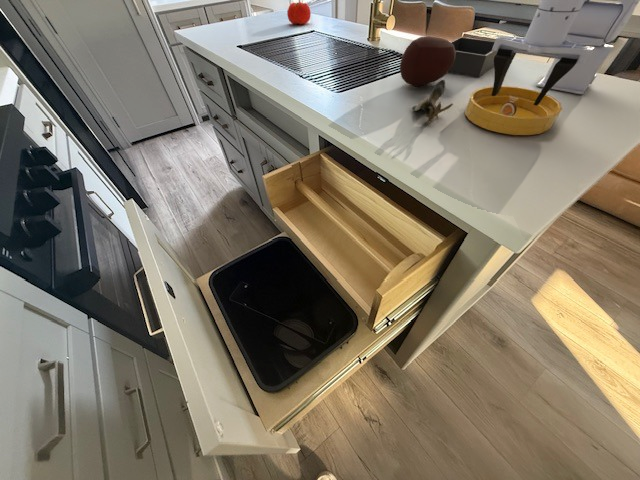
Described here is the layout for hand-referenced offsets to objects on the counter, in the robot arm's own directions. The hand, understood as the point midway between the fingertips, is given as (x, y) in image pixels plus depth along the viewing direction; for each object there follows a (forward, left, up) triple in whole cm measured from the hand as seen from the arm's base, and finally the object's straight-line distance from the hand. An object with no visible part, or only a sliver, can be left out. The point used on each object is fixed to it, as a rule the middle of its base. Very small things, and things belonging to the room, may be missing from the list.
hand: (514, 99), depth 53 cm
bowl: (0, 0, -4) cm, 4 cm away
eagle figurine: (+13, +9, -4) cm, 16 cm away
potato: (+23, -7, -4) cm, 24 cm away
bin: (+20, -28, -4) cm, 35 cm away
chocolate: (0, 0, -4) cm, 4 cm away
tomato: (+107, -46, -4) cm, 117 cm away
